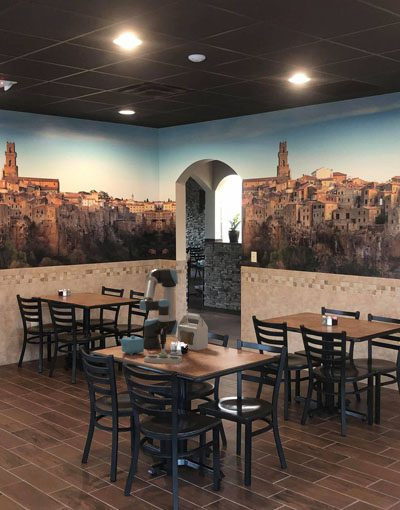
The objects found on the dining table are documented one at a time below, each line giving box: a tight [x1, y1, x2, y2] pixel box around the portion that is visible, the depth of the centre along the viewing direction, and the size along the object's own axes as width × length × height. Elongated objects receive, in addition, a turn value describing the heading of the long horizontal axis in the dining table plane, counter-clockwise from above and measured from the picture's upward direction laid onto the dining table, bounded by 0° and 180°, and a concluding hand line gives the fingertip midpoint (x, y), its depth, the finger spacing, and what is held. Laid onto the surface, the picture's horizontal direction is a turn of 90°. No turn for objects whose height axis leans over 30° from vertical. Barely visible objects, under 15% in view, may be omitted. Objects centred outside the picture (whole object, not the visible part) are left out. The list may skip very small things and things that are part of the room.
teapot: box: [117, 335, 145, 356], centre depth 490 cm, size 22×11×14 cm, turn 123°
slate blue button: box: [169, 351, 179, 356], centre depth 464 cm, size 6×6×2 cm
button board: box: [143, 354, 183, 365], centre depth 465 cm, size 12×25×3 cm, turn 80°
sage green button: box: [158, 352, 168, 356], centre depth 465 cm, size 6×6×2 cm
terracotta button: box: [147, 350, 158, 355], centre depth 466 cm, size 6×6×2 cm
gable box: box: [177, 311, 209, 351], centre depth 520 cm, size 22×13×28 cm, turn 46°
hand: (163, 353), depth 465 cm, fingers closed
